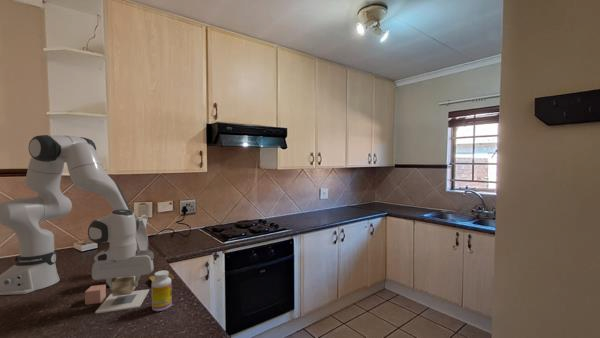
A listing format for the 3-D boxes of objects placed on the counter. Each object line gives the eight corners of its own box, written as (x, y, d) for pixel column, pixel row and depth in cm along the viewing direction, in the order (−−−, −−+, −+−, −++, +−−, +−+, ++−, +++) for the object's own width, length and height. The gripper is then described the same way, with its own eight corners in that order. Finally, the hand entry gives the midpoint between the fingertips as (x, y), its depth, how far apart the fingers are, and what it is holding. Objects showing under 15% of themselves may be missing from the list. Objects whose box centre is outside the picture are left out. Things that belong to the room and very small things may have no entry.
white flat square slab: (95, 313, 96) (95, 311, 96) (110, 295, 110) (110, 293, 110) (139, 307, 100) (139, 305, 100) (149, 290, 114) (149, 289, 114)
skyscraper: (153, 269, 138) (152, 214, 137) (135, 274, 132) (134, 216, 131) (147, 265, 144) (146, 212, 143) (129, 269, 137) (128, 214, 137)
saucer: (169, 276, 129) (169, 271, 129) (174, 282, 123) (174, 277, 123) (148, 281, 123) (148, 276, 123) (153, 287, 117) (153, 283, 117)
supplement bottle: (173, 308, 99) (172, 273, 99) (152, 314, 96) (152, 278, 96) (170, 300, 105) (170, 268, 105) (151, 305, 101) (150, 271, 101)
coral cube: (85, 304, 103) (84, 291, 102) (91, 298, 107) (91, 286, 107) (100, 302, 104) (100, 290, 104) (105, 296, 109) (105, 284, 109)
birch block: (112, 296, 101) (112, 283, 101) (118, 289, 107) (118, 276, 107) (130, 294, 103) (130, 281, 103) (135, 287, 108) (135, 274, 108)
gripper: (155, 247, 110) (156, 280, 111) (96, 252, 105) (97, 287, 105) (151, 251, 104) (152, 287, 105) (89, 257, 99) (90, 295, 99)
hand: (124, 287), depth 105 cm, fingers closed on birch block, 6 cm apart
